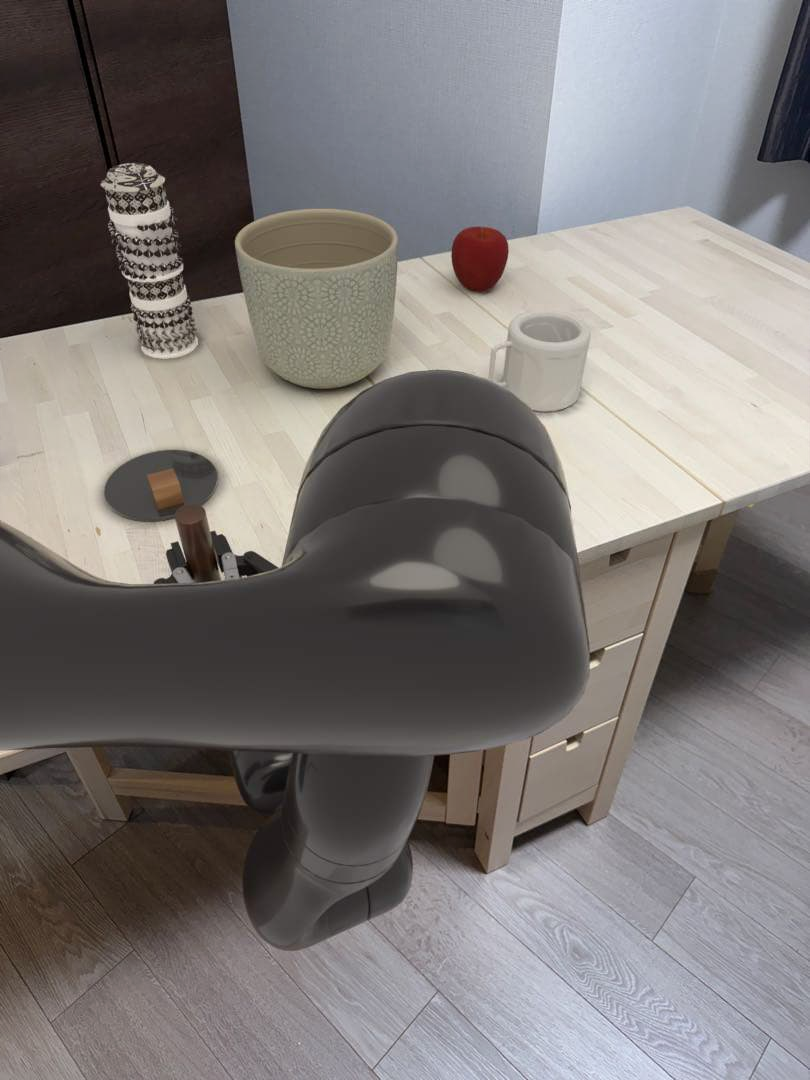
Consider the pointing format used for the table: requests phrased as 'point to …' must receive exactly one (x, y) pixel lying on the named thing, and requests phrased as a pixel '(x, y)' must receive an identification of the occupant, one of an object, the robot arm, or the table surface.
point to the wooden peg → (197, 543)
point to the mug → (544, 358)
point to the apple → (479, 257)
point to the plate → (132, 488)
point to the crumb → (165, 489)
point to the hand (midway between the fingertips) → (194, 544)
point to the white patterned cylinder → (150, 259)
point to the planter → (319, 293)
